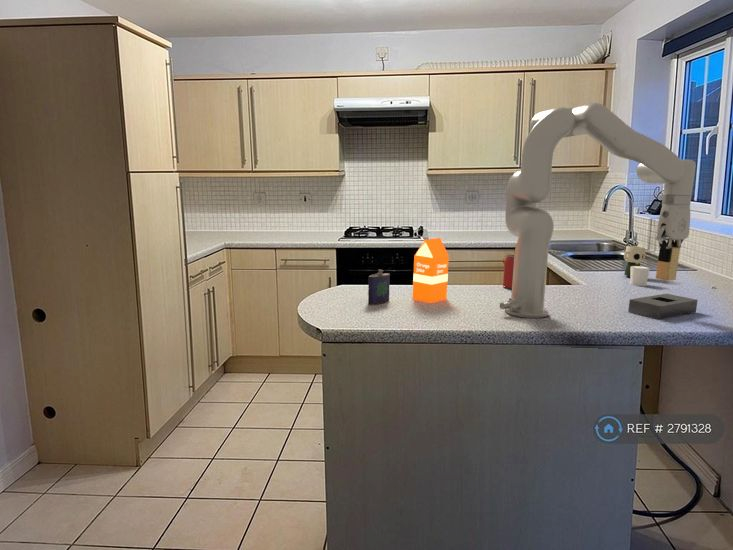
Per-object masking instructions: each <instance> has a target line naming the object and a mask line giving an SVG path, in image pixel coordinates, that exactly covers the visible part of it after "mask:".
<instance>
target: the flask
mask: <svg viewBox="0 0 733 550" xmlns="http://www.w3.org/2000/svg"><path fill="white" fill-rule="evenodd" d="M383 272H384V270H383V269H378V272H377V273H372V274H371V275H369V276H368V277H367V278H368V279H367V280H368V282H367V285H368V287H367V288H368V289H367V290H368V291H367V295H368V300H367V301H368V302H367V305H369V306H375V305H380V304H384V303H388V302H389V301H390V287H391V285H390V281H391V280H390V277H391V274H390V273H388V272H387V273H386V272H385V273H383Z"/></svg>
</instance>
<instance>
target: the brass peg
mask: <svg viewBox="0 0 733 550" xmlns="http://www.w3.org/2000/svg"><path fill="white" fill-rule="evenodd" d="M669 249H671V252H670V260H669V262H662V261H658V260H657V266H656V272H655V279H657V280H663V281H667V282H669V281H676V279H677V273H678V266H679V265H678V264H679V258H680V250H681V248H678V247H671V246H670V248H669ZM658 250H660V248H659V249H658Z"/></svg>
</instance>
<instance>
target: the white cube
mask: <svg viewBox="0 0 733 550" xmlns="http://www.w3.org/2000/svg"><path fill="white" fill-rule="evenodd" d="M650 270H651V267H647V266H642V265H640V266H631V272H630V277H629V279H630V282H629V283H630V285H632V286H636V287H646V286H647V284H648V283H647V282H648V279H649V275H650V274H649V273H650Z"/></svg>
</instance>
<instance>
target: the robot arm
mask: <svg viewBox="0 0 733 550" xmlns="http://www.w3.org/2000/svg"><path fill="white" fill-rule="evenodd" d="M581 135H588V136H589V137H590V138H592V139H593V140H595V142H596V143H598V144H599V145H600V146H602V147H603V148H604V149H605V150H606V151H608V152H609V153H610V154H612V155H614V156H616V157H618V158H621V159H626V160H629V161H634V162H636V163H639V164H638V166H637V168H636V175H637V177H638V179H639V180H640V181H641V182H642V183H643V182H644V183H647V184H664V185H663V192H662V193H663V194H662V200H661V208H660V212H659V213H660V214H659V216H658V221H657V227H656V237H655V239H656V241H657V242H658V248H659V249H660V250H659V249H658V250H659V252H658V257H657V262H658V261H662V262H669V260H670V252H671V249H669V248H670V246H671V247H678V248H680V249H681V248H682V244H683V242H684V241H685V239H686V240H687V238H688V237H689V235H690V228H691V227H690V226H691V203H692V201H691V200H692V194H693V189H694V182H695V181H694V180H695V173H696V166H697V164H696V161H694V159H693V160H692V159H683V158H682V159H681V158H680V157H679V156H678V155H677V154H675V152H673V151H672V150H671V149H669V148H668V147H667V146H665V145H664V144H662V143H661V142H659V141H658V140H655V139H653V138H651V137H649V136H648V135H645V134H643V133H640V132H638V131H636V130H634V129H633V128H632V127H630V125H628V124H627V123H626V122H625V121H623V120H622V119H621V118H620V117H619V116H617V115H616V114H615V113H614V112H613V111H611V109H609V108H608V107H606V106H605V105H604V104H602V103H600V102H599V103H598V102H591V103H586V104H581V105H579V106H574V107H569V108H567V107H563V106H562V107H555V108H554V107H553V108H550V109H548V110H547V109H546V110H544V111H543V110H542V111H540V112H537V113H536V114H535V115H534V116H533V117H532V119H531V120H530V123H529V132H528V134H527V136H526V138H525V141H524V143H523V147H522V153H521V164H520V170H519V171H516V172H514V173H513V174H512V175H511V176H510V177H509V179H508V183H507V185H506V193H505V194H506V195H505V224H506V228H507V230H508V232H510V234H511V235H513V236H515V237H517V238H518V239H517V242H516V245H515V248H514V249H515V250H514V254H513V255H514V269H513V282H512V289H511V294H510V295H511V297H509V298H508V300H507V301H504V302H500V303H499V309H500V310H504V312H505V313H507V314H508V315H510V316H511V315H512V316H515V317H518V318H519V317H520V318H525V319H527V318H528V319H532V318H533V319H539V318H546V317H547V316H549V310H548V309H547V308H544V304H545V294H546V283H547V271H548V257H549V249H550V244H551V240H552V236H553V232H554V220H553V217H552V216H551V214H550V213H549V212H548V211H547V210H544V209H542V208H540V207H539V208H538V207H536V205H537V204H539V203H541V202H542V203H543V202H544V201H546V200H547V199H548V198H549V197H550V194H551V189H552V175H553V174H552V170H553V169H552V168H553V159H554V158H553V156H554V152H555V149H556V147H557V145H558V144H559V143H560V141H561V140H562V139H564V138H571V137H575V136H581Z"/></svg>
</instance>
